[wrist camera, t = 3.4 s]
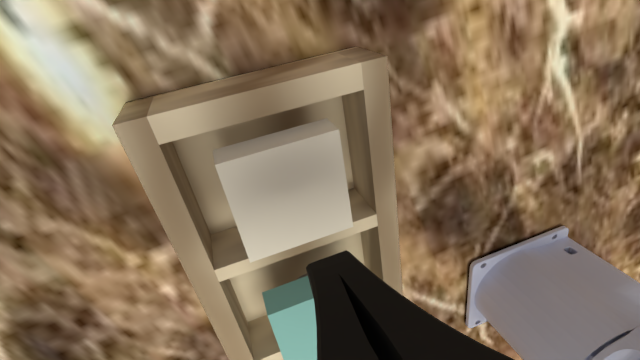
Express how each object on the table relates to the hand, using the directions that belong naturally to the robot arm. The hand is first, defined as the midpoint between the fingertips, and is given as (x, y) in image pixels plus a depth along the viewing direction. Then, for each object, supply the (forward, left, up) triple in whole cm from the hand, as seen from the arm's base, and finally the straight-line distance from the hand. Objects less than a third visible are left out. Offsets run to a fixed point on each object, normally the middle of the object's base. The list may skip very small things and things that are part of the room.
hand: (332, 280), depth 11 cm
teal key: (0, +7, -7) cm, 10 cm away
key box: (0, +7, -9) cm, 12 cm away
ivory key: (0, 0, -8) cm, 8 cm away
